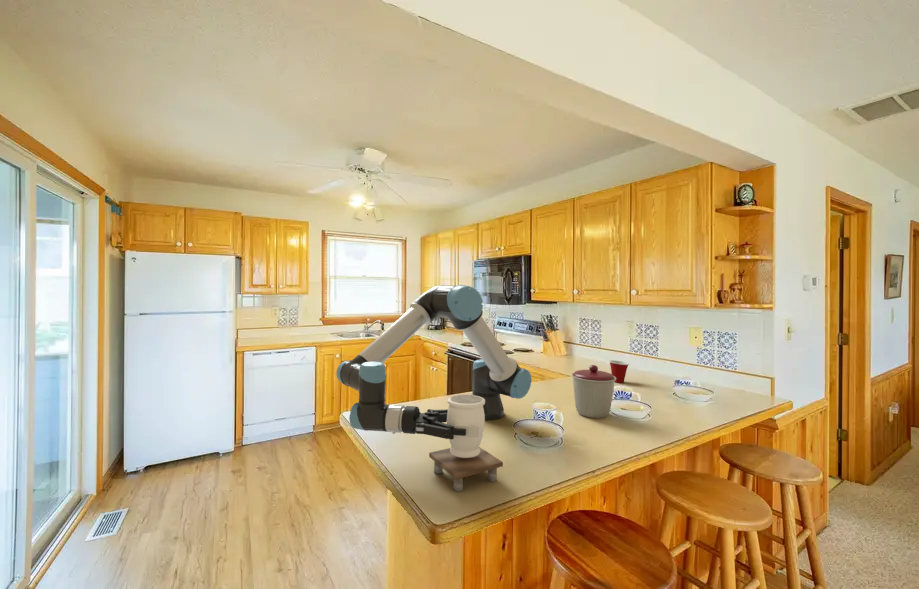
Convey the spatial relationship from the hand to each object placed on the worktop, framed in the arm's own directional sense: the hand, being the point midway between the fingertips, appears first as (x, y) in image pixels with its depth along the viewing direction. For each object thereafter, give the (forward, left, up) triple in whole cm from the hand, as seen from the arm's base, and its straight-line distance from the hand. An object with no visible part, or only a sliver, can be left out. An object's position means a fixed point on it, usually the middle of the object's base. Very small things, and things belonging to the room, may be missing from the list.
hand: (480, 424), depth 107 cm
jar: (-3, -3, -8) cm, 9 cm away
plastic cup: (-54, +134, -15) cm, 145 cm away
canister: (-22, +73, -15) cm, 77 cm away
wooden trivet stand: (-3, -3, -15) cm, 15 cm away
